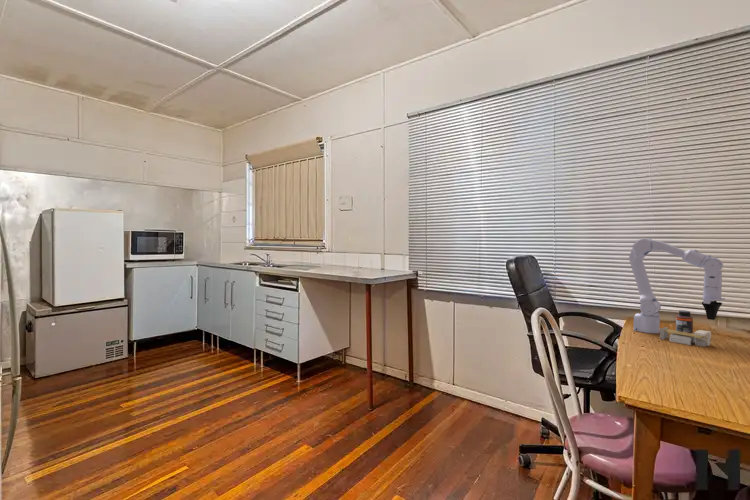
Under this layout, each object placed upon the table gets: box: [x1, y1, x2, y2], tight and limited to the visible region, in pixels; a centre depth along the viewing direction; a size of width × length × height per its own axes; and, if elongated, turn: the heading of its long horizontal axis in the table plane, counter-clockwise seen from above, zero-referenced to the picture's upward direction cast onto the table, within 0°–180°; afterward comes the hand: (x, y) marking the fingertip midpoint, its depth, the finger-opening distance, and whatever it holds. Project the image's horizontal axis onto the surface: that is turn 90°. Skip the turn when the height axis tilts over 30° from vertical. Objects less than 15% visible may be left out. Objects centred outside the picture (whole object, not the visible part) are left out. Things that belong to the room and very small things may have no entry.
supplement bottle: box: [675, 309, 694, 334], centre depth 175 cm, size 6×6×11 cm
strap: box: [665, 329, 704, 338], centre depth 160 cm, size 13×2×1 cm, turn 35°
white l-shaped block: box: [693, 329, 712, 347], centre depth 155 cm, size 4×7×5 cm, turn 125°
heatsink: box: [668, 333, 696, 346], centre depth 160 cm, size 7×7×3 cm
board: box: [659, 326, 707, 348], centre depth 160 cm, size 16×22×6 cm
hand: (711, 319), depth 161 cm, fingers closed
